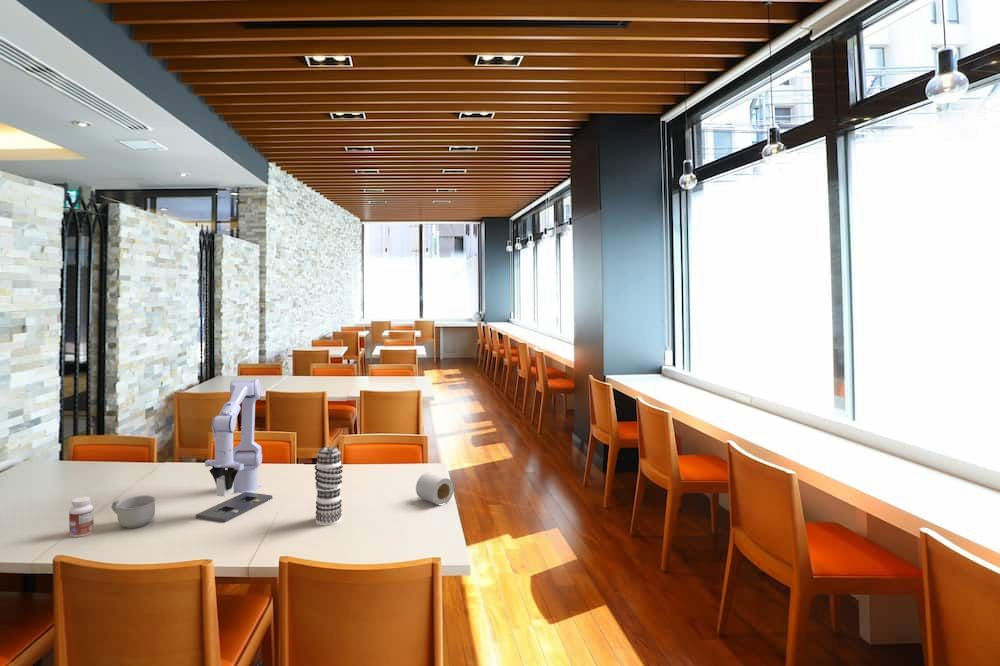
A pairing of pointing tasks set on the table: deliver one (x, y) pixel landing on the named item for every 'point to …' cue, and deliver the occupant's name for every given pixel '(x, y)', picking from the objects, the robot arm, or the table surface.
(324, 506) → the grey patterned cylinder
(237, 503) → the panel
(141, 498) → the teacup
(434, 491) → the toilet paper
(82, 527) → the pill bottle
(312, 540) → the table surface
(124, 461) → the table surface
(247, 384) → the robot arm
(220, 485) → the plug
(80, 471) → the table surface
